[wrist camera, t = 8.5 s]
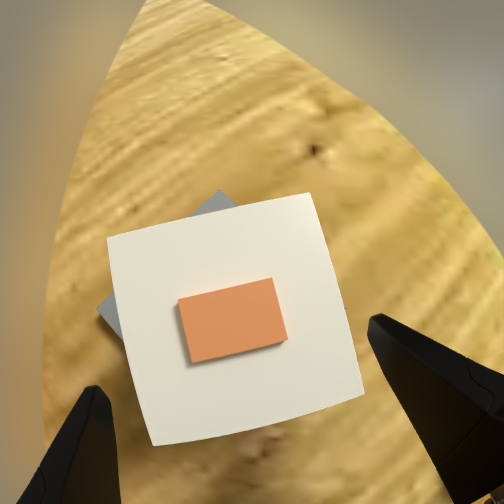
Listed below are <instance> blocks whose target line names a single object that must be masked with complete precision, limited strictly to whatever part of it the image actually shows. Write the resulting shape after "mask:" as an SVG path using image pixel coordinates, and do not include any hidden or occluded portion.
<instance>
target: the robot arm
mask: <svg viewBox="0 0 504 504" xmlns="http://www.w3.org/2000/svg"><path fill="white" fill-rule="evenodd" d="M367 336H368V340H369V342H370V345H371V347H372V349H373V351H374V353H375V356H376V358H377V360H378V362H379V365H380V367H381V369H382V371H383V374H384V376H385V378H386V379H387V381H388V383H389V385H390V386H391V388H392V390H393V392H394V393H395V395H396V397H397V398H398V400H399V402H400V404H401V405H402V407H403V409H404V411H405V413H406V414H407V416H408V418H409V420H410V421H411V423H412V425H413V427H414V429H415V430H416V432H417V434H418V436H419V438H420V439H421V441H422V443H423V445H424V447H425V449H426V450H427V452H428V454H429V456H430V458H431V460H432V462H433V464H434V465H435V467H436V470H437V471H438V473H439V475H440V477H441V479H442V481H443V483H444V485H445V487H446V489H447V491H448V493H449V495H450V497H451V499H452V501H453V503H454V504H471V503H473V502H475V501H477V500H478V499H480V498H482V497H484V496H485V495H487V494H490V496H491V497H490V498H489V499H488V500H486V501H485V502H484V504H504V375H503V374H501V373H498V372H496V371H494V370H491V369H489V368H487V367H485V366H483V365H481V364H479V363H477V362H475V361H473V360H471V359H469V358H466V357H465V356H463V355H461V354H459V353H457V352H456V351H454V350H452V349H450V348H448V347H446V346H444V345H442V344H440V343H438V342H436V341H434V340H433V339H431V338H429V337H427V336H425V335H423V334H421V333H419V332H417V331H415V330H413V329H411V328H410V327H408V326H406V325H404V324H402V323H400V322H398V321H396V320H394V319H392V318H390V317H388V316H386V315H385V314H382V313H380V314H377V315H374V316H372V317H370V319H369V326H368V332H367ZM16 504H121V497H120V487H119V475H118V461H117V445H116V437H115V430H114V423H113V416H112V408H111V402H110V400H109V398H108V397H107V396H106V394H105V393H104V392H103V391H102V389H101V388H100V387H99V386H97V385H92V386H87V387H86V388H85V389H84V391H83V392H82V394H81V395H80V397H79V399H78V400H77V402H76V404H75V405H74V407H73V408H72V410H71V412H70V413H69V415H68V417H67V418H66V420H65V422H64V423H63V425H62V427H61V428H60V430H59V432H58V433H57V435H56V437H55V439H54V440H53V442H52V444H51V446H50V447H49V449H48V451H47V453H46V454H45V456H44V458H43V460H42V461H41V463H40V467H38V469H37V471H36V472H35V474H34V476H33V478H32V479H31V481H30V483H29V485H28V486H27V488H26V489H25V491H24V492H23V494H22V496H21V497H20V499H19V500H18V502H17V503H16Z"/></svg>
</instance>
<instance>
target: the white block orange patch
mask: <svg viewBox="0 0 504 504" xmlns="http://www.w3.org/2000/svg"><path fill="white" fill-rule="evenodd" d="M107 244H108V252H109V260H110V267H111V274H112V281H113V287H114V293H115V299H116V305H117V310H118V316H119V321H120V326H121V331H122V335H123V340H124V345H125V349H126V353H127V358H128V362H129V366H130V370H131V374H132V378H133V382H134V385H135V389H136V393H137V396H138V400H139V403H140V407H141V410H142V413H143V417H144V420H145V423H146V426H147V429H148V432H149V435H150V438H151V441H152V444H153V446H160V445H168V444H175V443H182V442H189V441H195V440H201V439H207V438H212V437H218V436H223V435H228V434H233V433H237V432H242V431H246V430H250V429H255V428H259V427H263V426H267V425H271V424H274V423H278V422H282V421H285V420H289V419H292V418H296V417H299V416H302V415H306V414H309V413H312V412H315V411H318V410H321V409H324V408H327V407H330V406H333V405H336V404H339V403H342V402H344V401H347V400H350V399H352V398H355V397H358V396H360V395H363V394H365V393H364V388H363V384H362V379H361V375H360V370H359V366H358V361H357V357H356V353H355V349H354V345H353V340H352V336H351V332H350V328H349V324H348V320H347V317H346V313H345V309H344V305H343V301H342V298H341V294H340V290H339V287H338V283H337V280H336V276H335V272H334V269H333V265H332V262H331V259H330V255H329V252H328V249H327V245H326V242H325V239H324V235H323V232H322V229H321V226H320V223H319V219H318V216H317V213H316V210H315V207H314V204H313V201H312V198H311V195H310V192H309V193H303V194H298V195H293V196H288V197H283V198H277V199H272V200H267V201H262V202H258V203H253V204H248V205H243V206H238V207H234V208H229V209H224V210H220V211H215V212H211V213H206V214H202V215H197V216H193V217H189V218H184V219H180V220H176V221H171V222H167V223H163V224H159V225H155V226H151V227H147V228H143V229H139V230H135V231H131V232H127V233H123V234H119V235H115V236H111V237H107Z"/></svg>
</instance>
